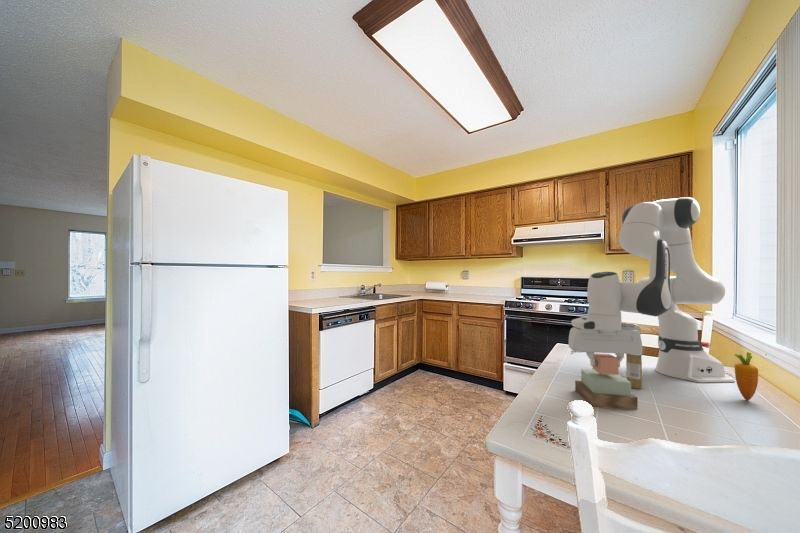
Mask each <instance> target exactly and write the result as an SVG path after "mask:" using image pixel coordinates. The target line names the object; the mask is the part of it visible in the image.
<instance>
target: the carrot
mask: <svg viewBox="0 0 800 533" xmlns="http://www.w3.org/2000/svg"><path fill="white" fill-rule="evenodd" d="M734 356H735V357H736V358H738V359H739V360H740V362H738V363H735V365H734V374H735V382H736V385H737V387H738V388H737V389H738V390H739V392H740V394H741V395H742V396H741V397H742V398H743V399H744V400H745V401H749V400H751V399H752V398H753V397H754V395H755V394H756V393H757V392H756V391H757V389H758V383H759V369H758V368H757V366H755V365H753V364H750V363H751V359H752V358H753V355H752V353H751V352H749V351H747V352H746V358H745V357H744V356H743V355H742V354H741V353H739V354H737V353H735V354H734Z"/></svg>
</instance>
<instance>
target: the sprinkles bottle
mask: <svg viewBox="0 0 800 533" xmlns="http://www.w3.org/2000/svg"><path fill="white" fill-rule="evenodd" d="M642 356H643V351H642V352H641V353H640V354H626V361H625V365H626V369H625V370H626V372H625V373H626V379H627V380H628V381H630V382H631V389H638V390H639V389H643V388H644V387H643V365H642V364H643V361H642V360H643V359H642Z"/></svg>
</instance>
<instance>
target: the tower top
mask: <svg viewBox="0 0 800 533" xmlns="http://www.w3.org/2000/svg"><path fill="white" fill-rule="evenodd" d="M580 371H581V375H580V378H581V379H580V381H582V382H583V383H584V384H585V385H586V386H587V387H588V388H589V389H590V390H591V391H592V392H593V393H601V394H612V395H623V396H631V394H632V387H631V382H630V381H628V380H627V378H625V377H623V376H622V375H621V374H620V373H618V375H613V374H600V373H599V372H597V371H595V370H594V369H584V368H581V370H580Z"/></svg>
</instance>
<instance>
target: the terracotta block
mask: <svg viewBox="0 0 800 533" xmlns="http://www.w3.org/2000/svg"><path fill="white" fill-rule="evenodd" d="M616 357H617V356H614V355H612V354H611V353H597V352H594V356H593V358H594V360H596V361H598V366H592V370H595V371H597V372H599V373H600V374H613V375H618V374H619V367H618V358H616Z"/></svg>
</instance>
